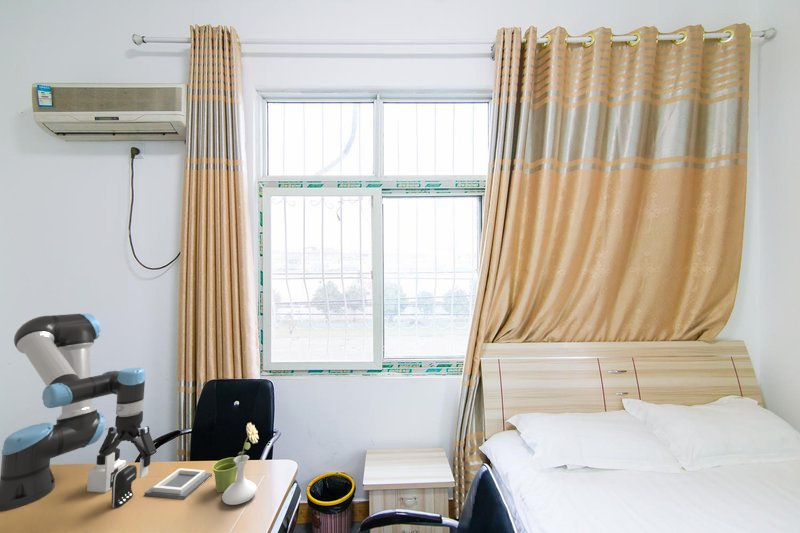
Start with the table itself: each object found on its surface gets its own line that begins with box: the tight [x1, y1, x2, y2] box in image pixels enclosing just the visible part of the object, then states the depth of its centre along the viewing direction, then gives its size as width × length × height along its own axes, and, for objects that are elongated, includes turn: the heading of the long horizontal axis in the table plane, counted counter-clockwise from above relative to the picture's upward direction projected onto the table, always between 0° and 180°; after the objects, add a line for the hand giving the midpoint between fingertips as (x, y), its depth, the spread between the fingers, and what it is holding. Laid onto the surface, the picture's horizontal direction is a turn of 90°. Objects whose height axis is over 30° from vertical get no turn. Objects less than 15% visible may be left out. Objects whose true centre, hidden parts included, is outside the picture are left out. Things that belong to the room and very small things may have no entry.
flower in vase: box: [221, 422, 260, 506], centre depth 117 cm, size 13×11×25 cm
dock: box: [144, 467, 213, 500], centre depth 122 cm, size 16×14×2 cm
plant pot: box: [211, 457, 237, 493], centre depth 121 cm, size 9×9×9 cm
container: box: [86, 447, 127, 494], centre depth 121 cm, size 8×8×13 cm
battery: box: [110, 464, 138, 508], centre depth 113 cm, size 7×4×11 cm, turn 3°
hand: (126, 474), depth 113 cm, fingers open, 13 cm apart
